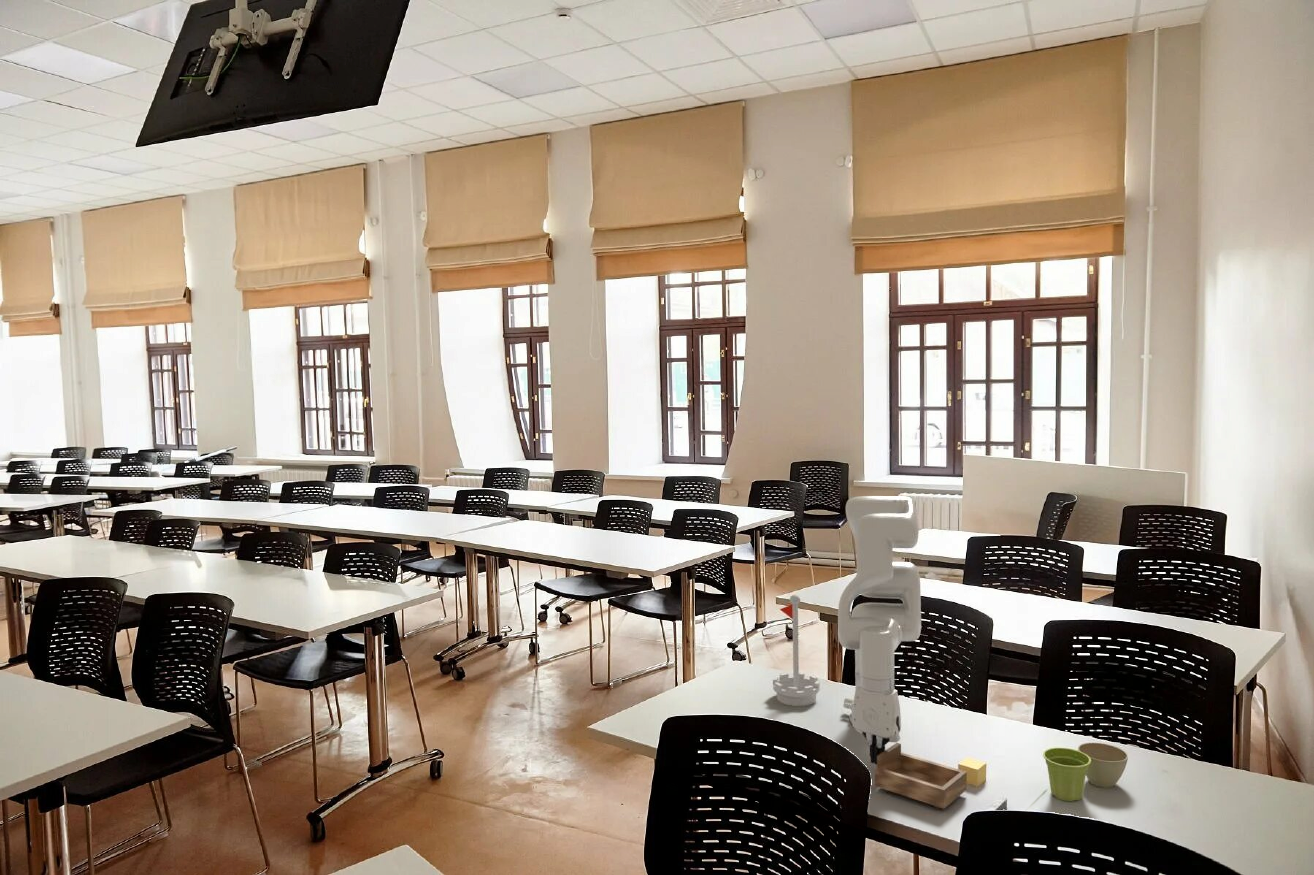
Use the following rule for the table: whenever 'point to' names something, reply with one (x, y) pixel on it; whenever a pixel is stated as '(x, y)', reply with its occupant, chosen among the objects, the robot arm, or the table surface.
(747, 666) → the table surface
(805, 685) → the flag stand
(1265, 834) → the table surface
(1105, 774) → the flower pot
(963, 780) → the wooden crate
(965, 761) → the block
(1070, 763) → the plant pot
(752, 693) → the table surface
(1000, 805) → the rail
